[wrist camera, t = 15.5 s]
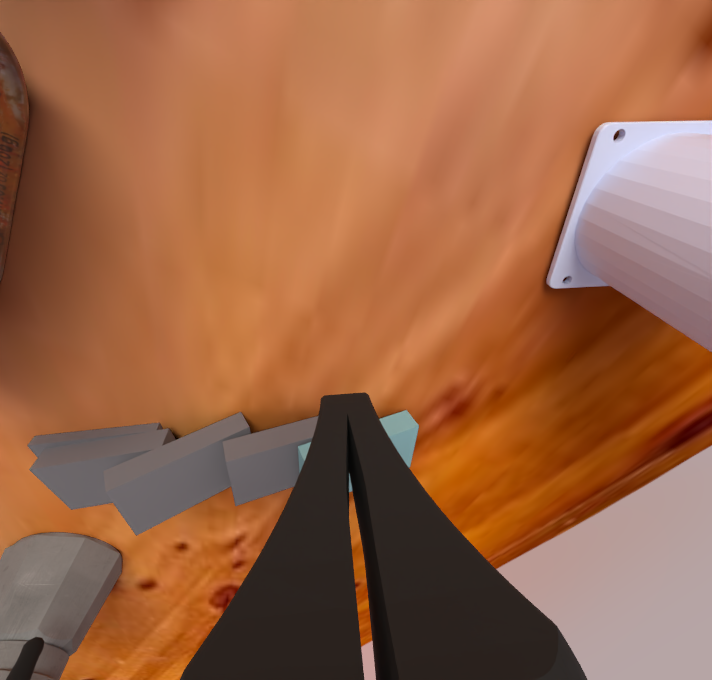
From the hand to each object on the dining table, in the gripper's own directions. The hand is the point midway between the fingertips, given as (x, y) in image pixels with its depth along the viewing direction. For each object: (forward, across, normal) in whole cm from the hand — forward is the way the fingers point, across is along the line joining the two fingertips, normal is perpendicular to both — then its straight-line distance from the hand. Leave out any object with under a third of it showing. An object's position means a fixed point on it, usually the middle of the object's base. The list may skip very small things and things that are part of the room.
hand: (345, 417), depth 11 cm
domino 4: (+8, +11, +12) cm, 18 cm away
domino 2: (+9, 0, +12) cm, 15 cm away
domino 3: (+9, +6, +12) cm, 16 cm away
